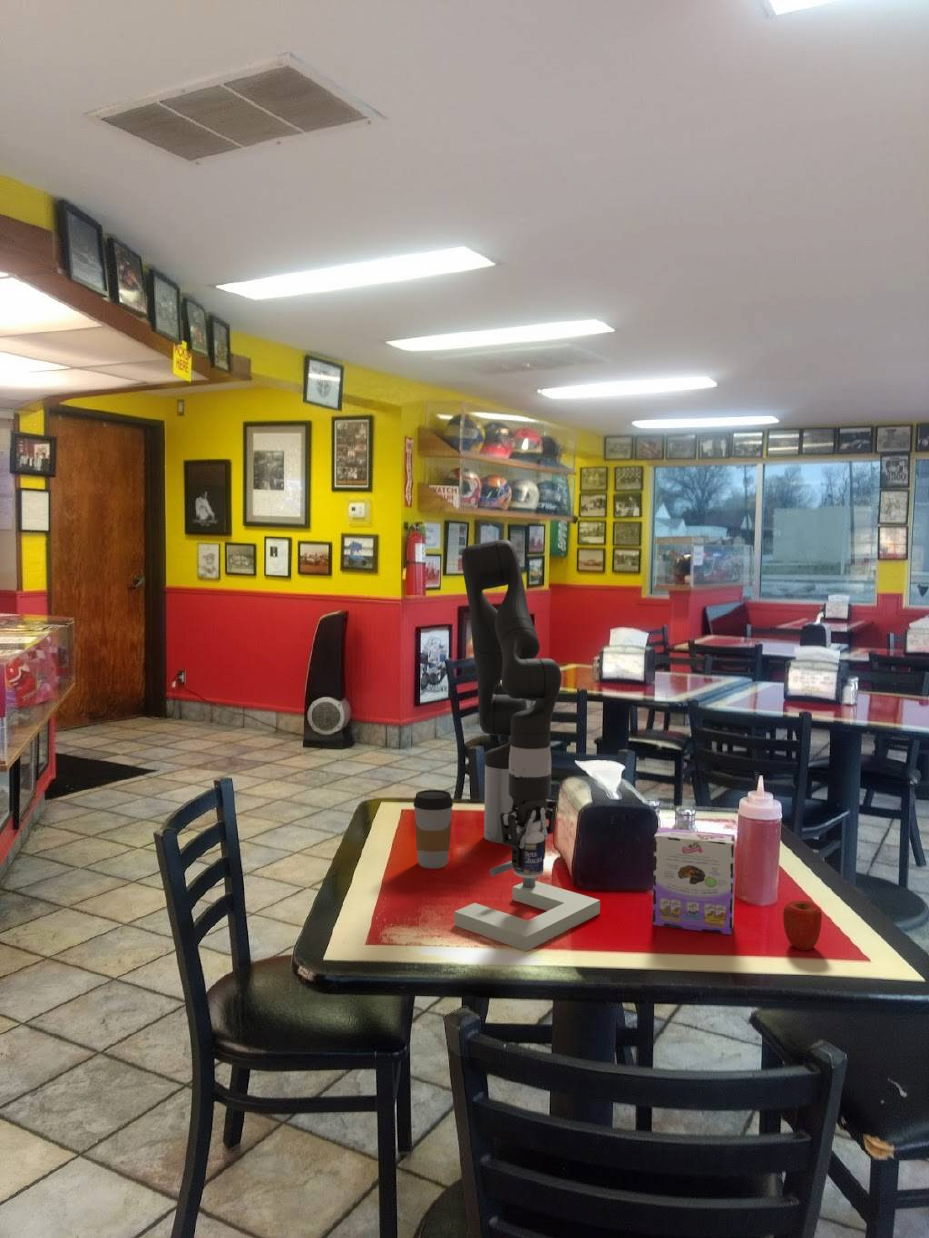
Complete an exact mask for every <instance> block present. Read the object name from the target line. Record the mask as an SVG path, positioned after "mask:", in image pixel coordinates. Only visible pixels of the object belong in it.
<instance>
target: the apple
mask: <svg viewBox="0 0 929 1238" xmlns="http://www.w3.org/2000/svg"><path fill="white" fill-rule="evenodd" d="M782 914H783V915H782V920H783V921H782V922H783V927H784V929H783V930H784V933H785V935H786V939H787V941H788V942H789V944H790V945H791V946H792V947H794V948H796V949H797V950H801V951H809V950H812V949H813V948H814V947H815V946H816V944H817V943H818V941H819V938H820V933H821V929H822V922H823V920H822V919H823V917H822V910H821V909H820V908H819V906H818V905H816V904H815V903H812V902H811V901H807V900H795V901H794V900H793V901H788V902H787V903H786V904H785V905H784V907H783V913H782Z"/></svg>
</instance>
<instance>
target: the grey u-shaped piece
mask: <svg viewBox="0 0 929 1238" xmlns="http://www.w3.org/2000/svg"><path fill="white" fill-rule="evenodd" d="M510 870H513V865H512V860H509V861H507V862H504V863H502V864H499V865H496V866H495V867H492V868H490V869H489V875H491V876H492V877H495V876H498V875H500V874H503V873H505V872H507V871H510ZM512 900H513V901H516V902H519V903H522V904H525V905H527V906H530V907H531V906H532V907H534V908H537V909H540V910H544V911H545V912H543V913H541V914H538V915H536V916H534V917H532V918H531V919H528V920H527V919H524V918H521V917H519V916H515V915H512V914H509V913H506V912H503V911H500V910H497V909H495V908H492V907H488V906H485V905H483V904H479V903H477V902H473V903H471V904H468V905H466V906H464V907H462V908H460V909H458V910H454V922H453V923H454V925H453V926H456V927H458V928H460V929H463V930H467V931H469V932H472V933H474V934H477V935H480V936H483V937H485V938H488V939H491V940H493V941H496V942H500V943H502V944H505V945H508V946H510V947H513V948H516V949H519V950H522V951H524V952H528V951H530V950H532V949H534V948H536V947H538V946H540V945H542V944H544V943H546V942H548V941H549V939H550V940H552V939H553V938H555V937H557V936H559V935H561V934H564V933H565V932H567V931H569V930H570V928H571V929H573V928H575V927H576V926H578V925H580V924H582V923H584V922H586V921H588V920H591V919H592V918H594V917H595V916H598V915H599V914H600V913H601V912H600V911H601V910H600V909H601V900H600V899H597V898H593V897H591V896H587V895H584V894H581V893H578V892H574V891H571V890H567V889H564V888H560V887H557V886H555V885H550V884H547V883H544V882H540V881H537V880H536V878H523V877H522V882H521V883H518V884H516V885H514V886H512ZM572 927H573V928H572ZM568 929H569V930H568ZM566 930H567V931H566ZM554 936H555V937H554Z"/></svg>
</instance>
